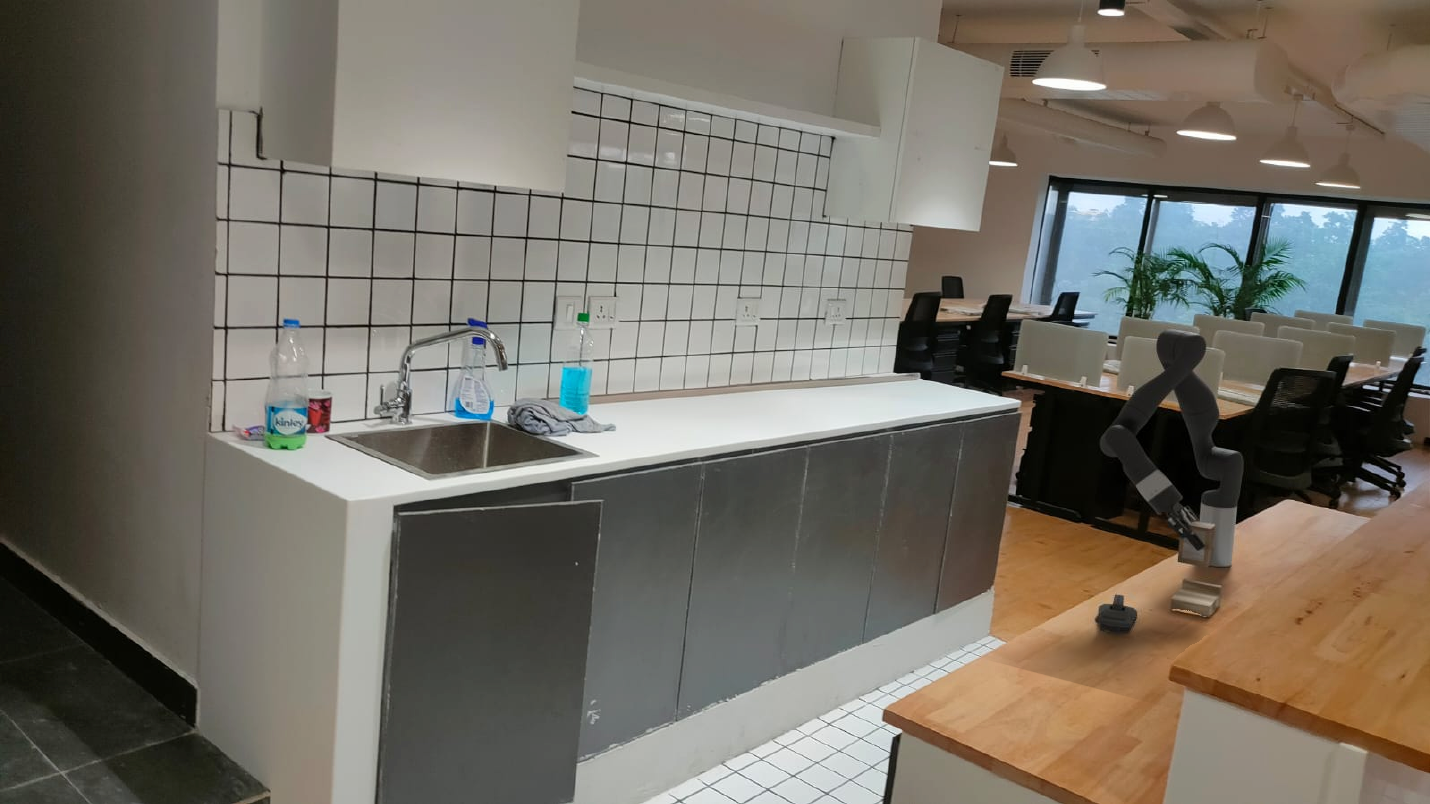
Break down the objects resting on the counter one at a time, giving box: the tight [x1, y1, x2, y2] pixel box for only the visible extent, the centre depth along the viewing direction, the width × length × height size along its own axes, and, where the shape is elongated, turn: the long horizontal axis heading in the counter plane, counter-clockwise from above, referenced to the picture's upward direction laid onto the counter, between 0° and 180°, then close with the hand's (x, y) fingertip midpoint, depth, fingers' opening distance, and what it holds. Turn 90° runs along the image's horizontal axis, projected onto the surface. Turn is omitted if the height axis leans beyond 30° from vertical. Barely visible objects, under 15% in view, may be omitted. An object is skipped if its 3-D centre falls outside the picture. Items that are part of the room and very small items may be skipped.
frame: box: [1177, 521, 1216, 568], centre depth 269 cm, size 5×7×10 cm
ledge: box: [1169, 578, 1223, 618], centre depth 270 cm, size 12×9×5 cm
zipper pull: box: [1094, 594, 1138, 635], centre depth 255 cm, size 9×7×25 cm
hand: (1204, 545), depth 268 cm, fingers closed on frame, 5 cm apart
